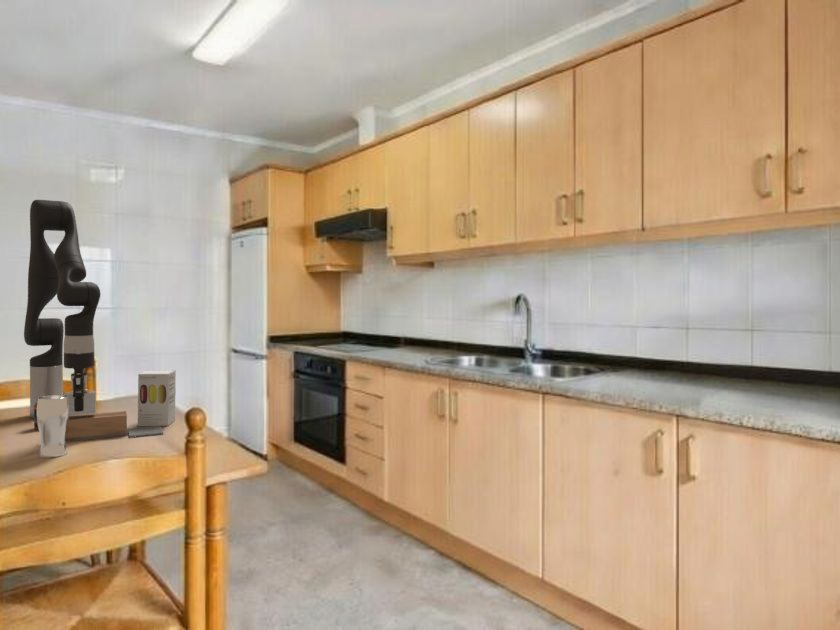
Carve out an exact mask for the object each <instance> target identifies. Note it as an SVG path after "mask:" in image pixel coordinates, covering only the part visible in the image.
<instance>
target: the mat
mask: <svg viewBox="0 0 840 630" xmlns="http://www.w3.org/2000/svg"><path fill="white" fill-rule="evenodd" d="M127 432H128V433H129V434H128V438H129V437H133V438H136V437H135V436H143V437H146V436H145V435H153V436H161V434H163V435H164V431H163V428H162V426H161V425H160V426H138V427H131V428H127Z"/></svg>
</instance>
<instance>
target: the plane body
mask: <svg viewBox="0 0 840 630" xmlns="http://www.w3.org/2000/svg"><path fill="white" fill-rule="evenodd" d="M127 417H128V414H127V411H126V410H122V411H109V412H95V414H82V415H69V421H68V427H67V432H66V439H65V441H66V443H67V442H75V441H76V442H77V441H84V440H85V441H86V440H94V439H95V438H97V439H105V438H106V437H107V438H115V436H117V437H124V436H123V435H127V436H129V434H128V428H127V427H128V422H127V421H128V420H127V419H128V418H127Z"/></svg>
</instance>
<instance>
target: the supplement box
mask: <svg viewBox="0 0 840 630" xmlns="http://www.w3.org/2000/svg"><path fill="white" fill-rule="evenodd" d="M137 376H138V381H137V383H138V386H137V387H138V389H137V427H150V426H160V425H161V427H164V426H167V427H168V426H169V425H171V424H173V422H174V421H175V420H176V387H177V386H176V370H175V369H174V370H167V369H165V370H161V369H160V370H150V369H149V370H144V371H142V372H140V373H138V375H137Z"/></svg>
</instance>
